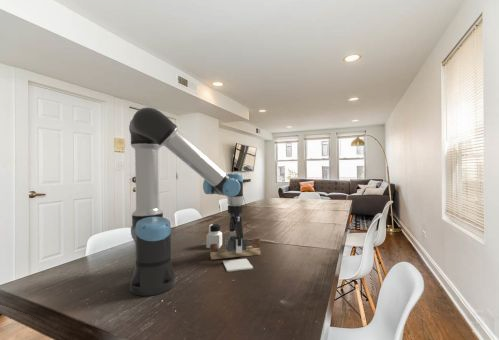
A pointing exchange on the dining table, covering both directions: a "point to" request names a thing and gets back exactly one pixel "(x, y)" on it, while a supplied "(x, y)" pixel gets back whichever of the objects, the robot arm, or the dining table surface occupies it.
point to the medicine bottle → (214, 235)
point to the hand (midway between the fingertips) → (235, 248)
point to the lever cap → (234, 243)
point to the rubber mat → (237, 265)
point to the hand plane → (223, 253)
